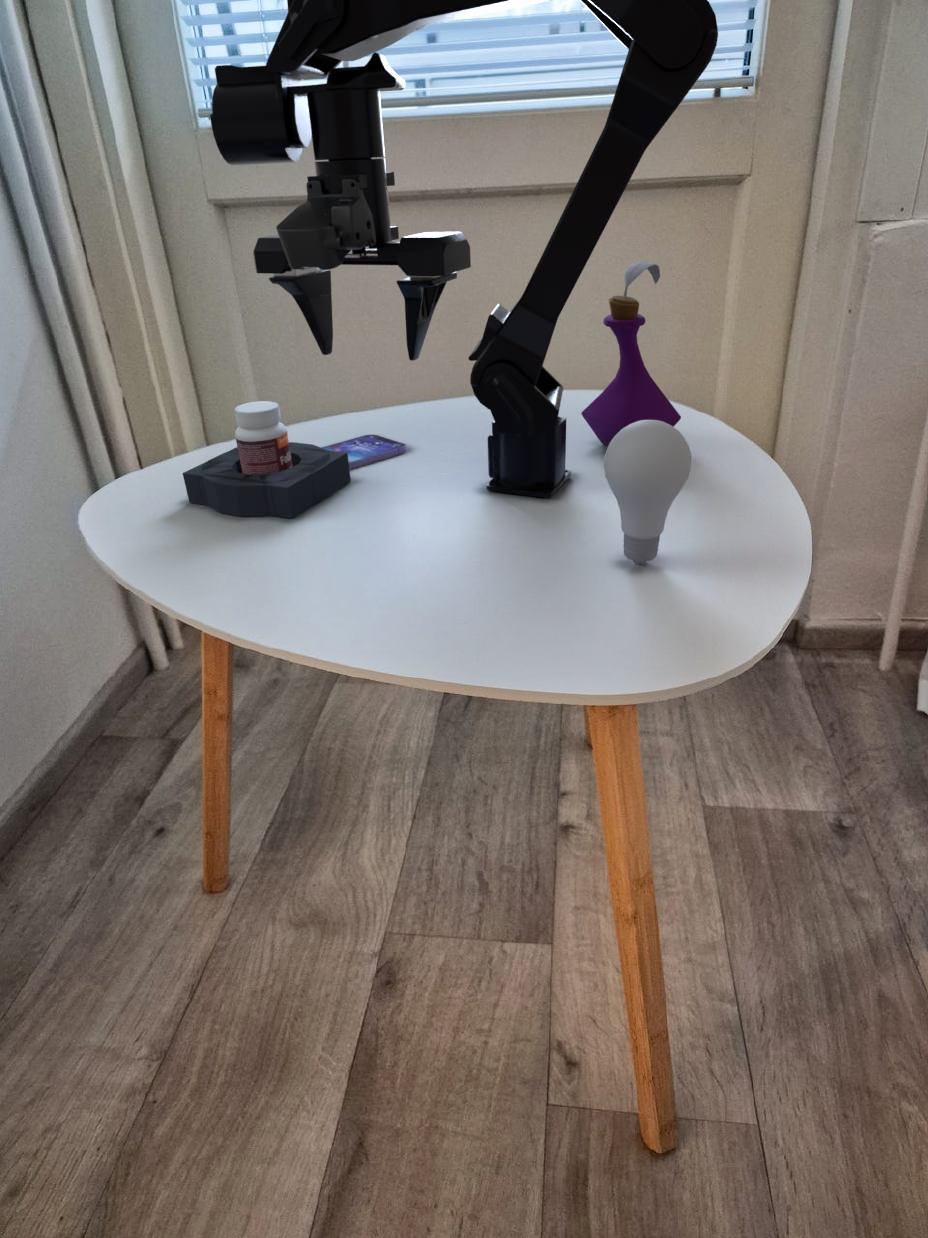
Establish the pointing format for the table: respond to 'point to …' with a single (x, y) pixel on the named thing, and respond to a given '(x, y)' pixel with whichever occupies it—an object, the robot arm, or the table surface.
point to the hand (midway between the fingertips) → (369, 356)
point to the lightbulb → (646, 481)
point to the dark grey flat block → (268, 483)
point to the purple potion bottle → (628, 372)
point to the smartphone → (367, 449)
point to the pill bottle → (261, 438)
